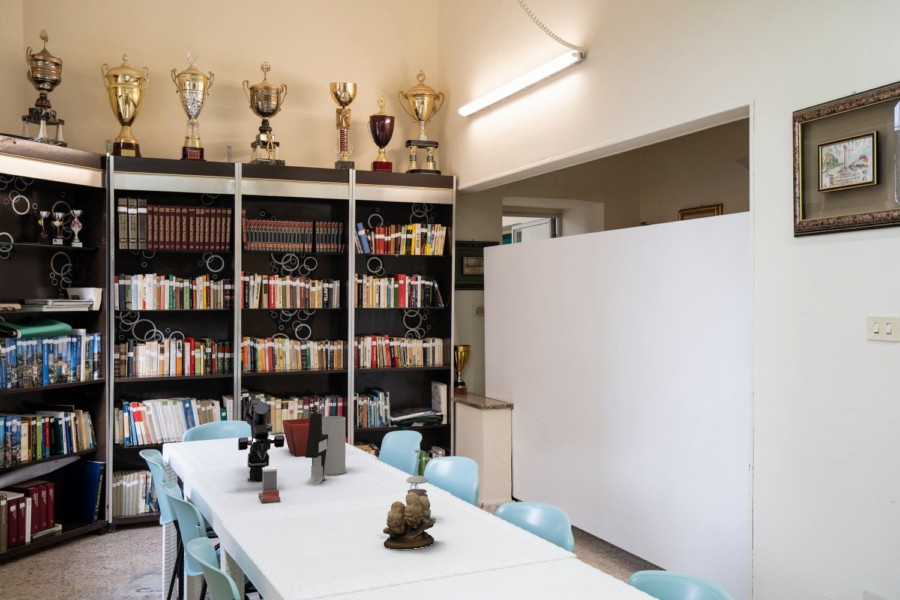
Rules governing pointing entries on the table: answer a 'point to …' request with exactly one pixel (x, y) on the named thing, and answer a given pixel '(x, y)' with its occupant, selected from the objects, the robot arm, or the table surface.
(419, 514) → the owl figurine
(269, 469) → the gray cream rectangular block
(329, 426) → the cylinder vase
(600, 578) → the table surface
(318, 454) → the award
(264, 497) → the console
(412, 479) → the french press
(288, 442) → the plant pot
